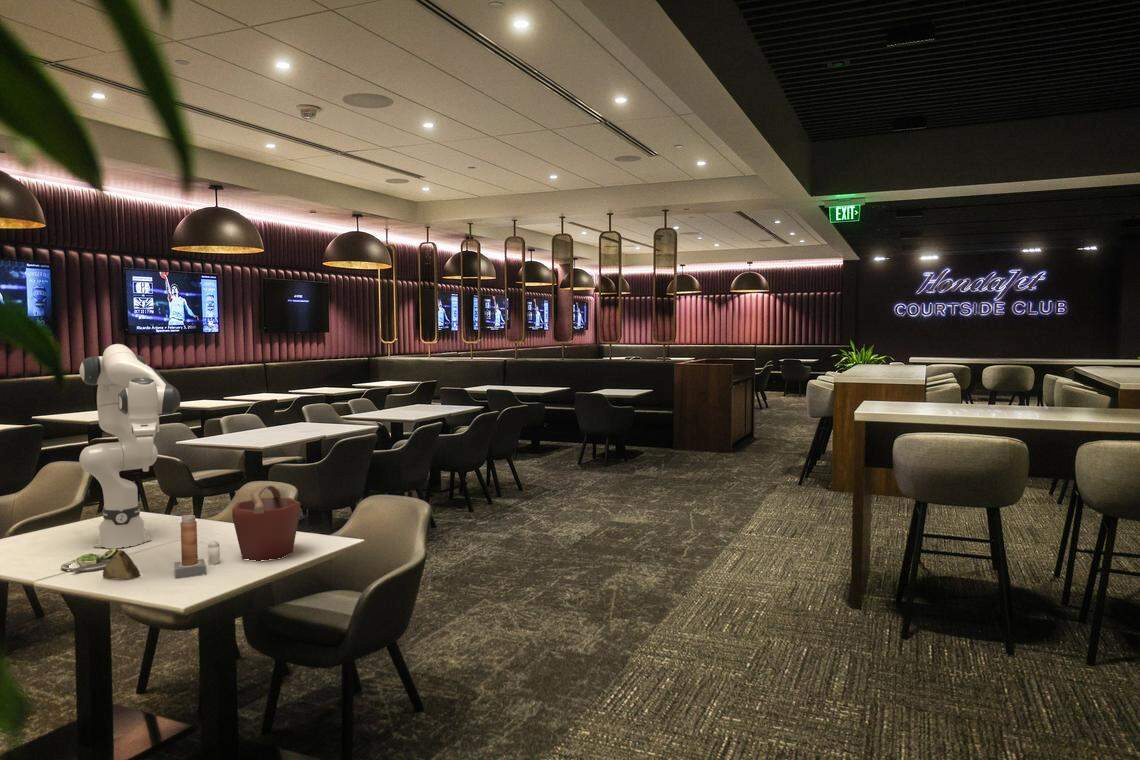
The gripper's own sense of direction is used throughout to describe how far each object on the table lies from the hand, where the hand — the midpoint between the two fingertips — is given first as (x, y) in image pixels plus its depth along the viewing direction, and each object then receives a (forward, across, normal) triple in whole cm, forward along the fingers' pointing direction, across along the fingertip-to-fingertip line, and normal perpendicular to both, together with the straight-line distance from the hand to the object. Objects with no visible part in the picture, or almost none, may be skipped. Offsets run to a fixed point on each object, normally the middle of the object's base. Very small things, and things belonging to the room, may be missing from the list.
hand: (145, 469), depth 255 cm
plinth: (+35, +6, +12) cm, 38 cm away
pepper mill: (+32, +6, +12) cm, 35 cm away
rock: (+35, 0, -8) cm, 36 cm away
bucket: (+35, -4, +37) cm, 51 cm away
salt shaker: (+35, -2, +20) cm, 40 cm away
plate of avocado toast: (+36, -21, -16) cm, 44 cm away
